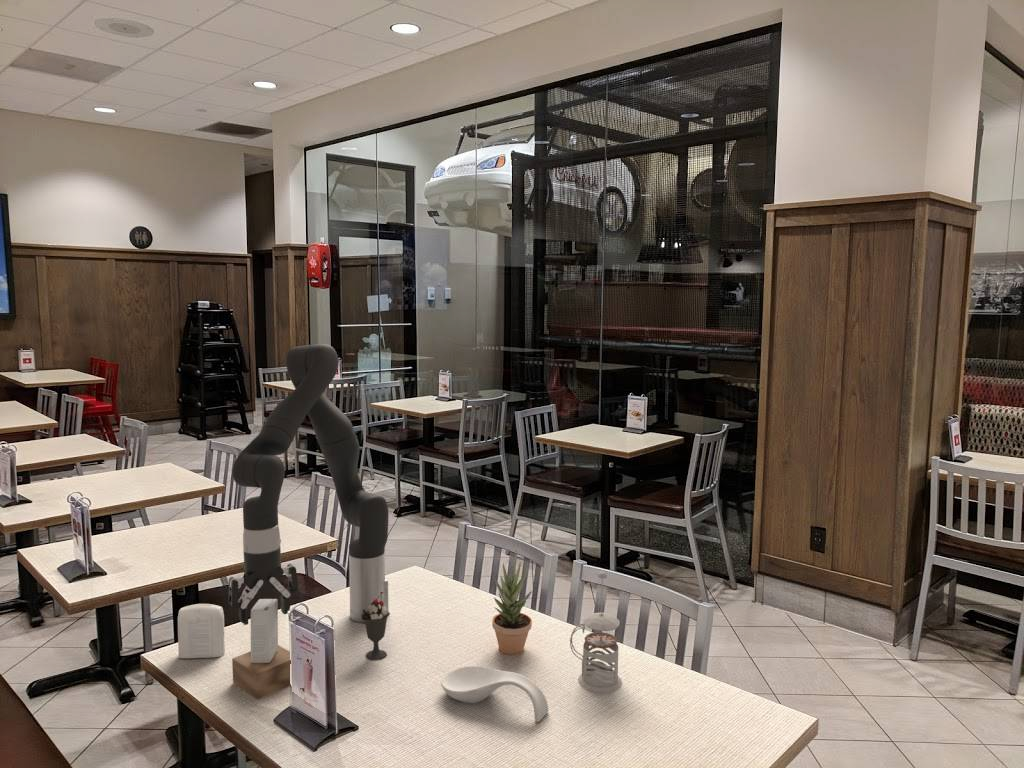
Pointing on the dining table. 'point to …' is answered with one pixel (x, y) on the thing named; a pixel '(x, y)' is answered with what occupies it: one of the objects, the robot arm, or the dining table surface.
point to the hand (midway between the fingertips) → (265, 618)
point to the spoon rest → (490, 686)
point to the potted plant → (511, 614)
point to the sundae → (375, 627)
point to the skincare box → (264, 630)
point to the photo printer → (201, 631)
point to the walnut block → (262, 673)
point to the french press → (597, 672)
